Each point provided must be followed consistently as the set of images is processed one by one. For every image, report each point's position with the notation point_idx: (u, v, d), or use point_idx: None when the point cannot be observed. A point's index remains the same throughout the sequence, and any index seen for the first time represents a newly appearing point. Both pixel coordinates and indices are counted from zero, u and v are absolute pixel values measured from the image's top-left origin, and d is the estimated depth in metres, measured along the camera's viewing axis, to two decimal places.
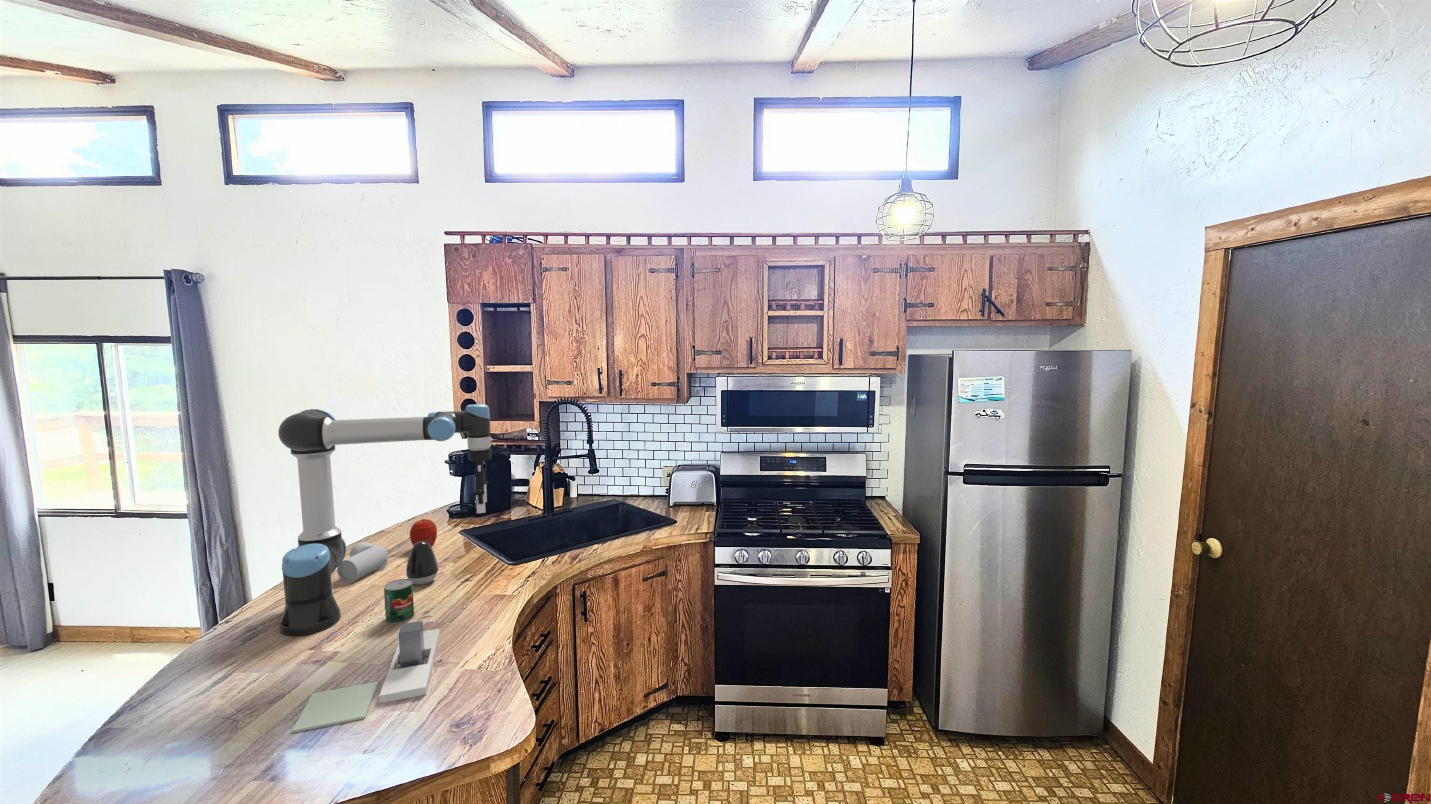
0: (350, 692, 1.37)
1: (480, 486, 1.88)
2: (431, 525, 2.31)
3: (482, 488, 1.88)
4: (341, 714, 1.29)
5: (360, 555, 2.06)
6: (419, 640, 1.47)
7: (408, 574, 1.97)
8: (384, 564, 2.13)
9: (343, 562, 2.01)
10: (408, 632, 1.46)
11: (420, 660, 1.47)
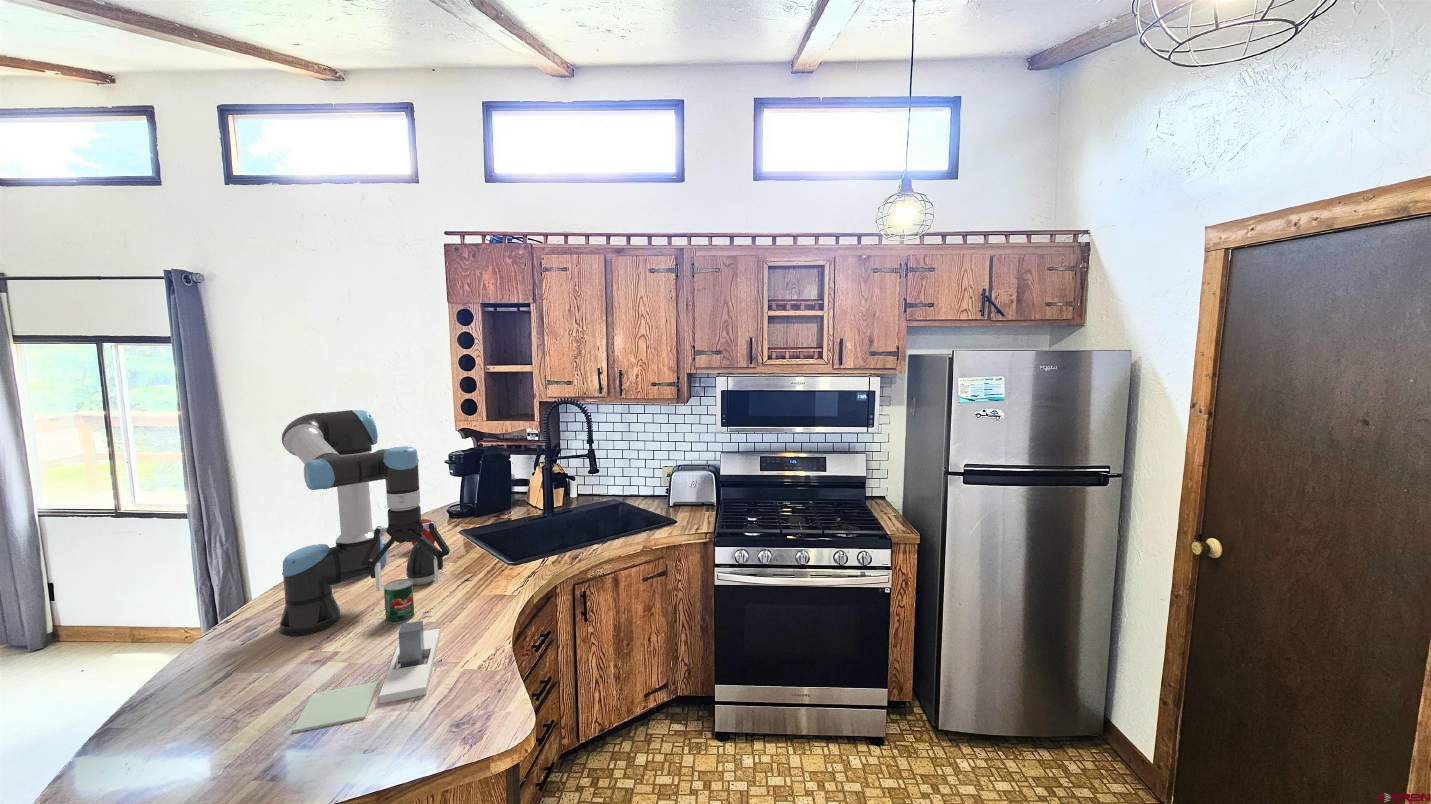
0: (350, 692, 1.37)
1: (365, 554, 1.43)
2: None
3: (363, 557, 1.42)
4: (341, 714, 1.29)
5: None
6: (419, 640, 1.47)
7: (408, 574, 1.97)
8: None
9: None
10: (408, 632, 1.46)
11: (420, 660, 1.47)
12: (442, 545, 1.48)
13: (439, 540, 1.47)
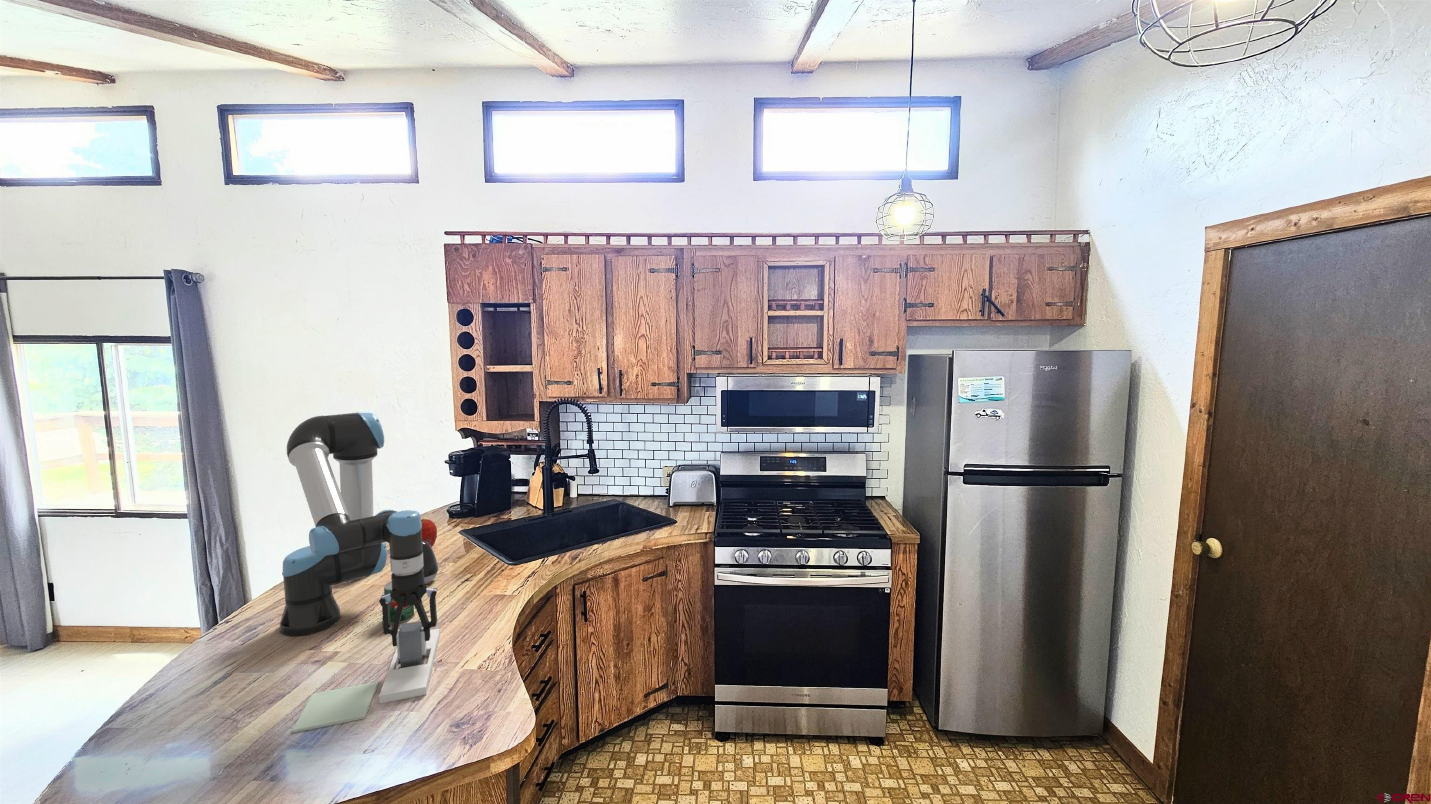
0: (350, 692, 1.37)
1: None
2: (431, 525, 2.31)
3: (383, 627, 1.45)
4: (341, 714, 1.29)
5: None
6: (419, 640, 1.47)
7: None
8: None
9: None
10: (408, 632, 1.46)
11: (420, 660, 1.47)
12: (434, 615, 1.49)
13: (433, 610, 1.49)
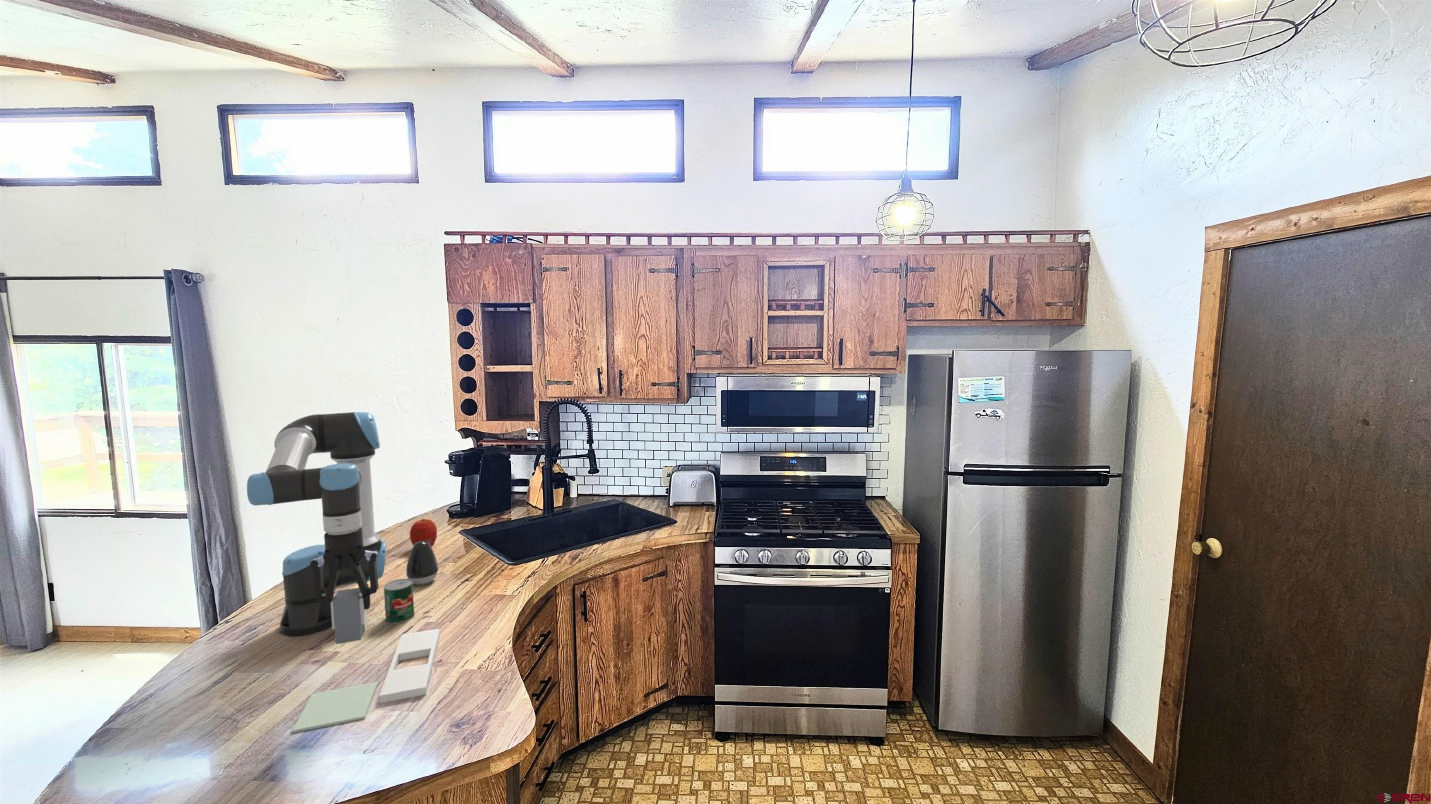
0: (350, 692, 1.37)
1: None
2: (431, 525, 2.31)
3: None
4: (341, 714, 1.29)
5: None
6: (357, 607, 1.32)
7: (408, 574, 1.97)
8: None
9: None
10: (344, 598, 1.31)
11: (358, 630, 1.32)
12: (374, 580, 1.34)
13: (373, 574, 1.34)
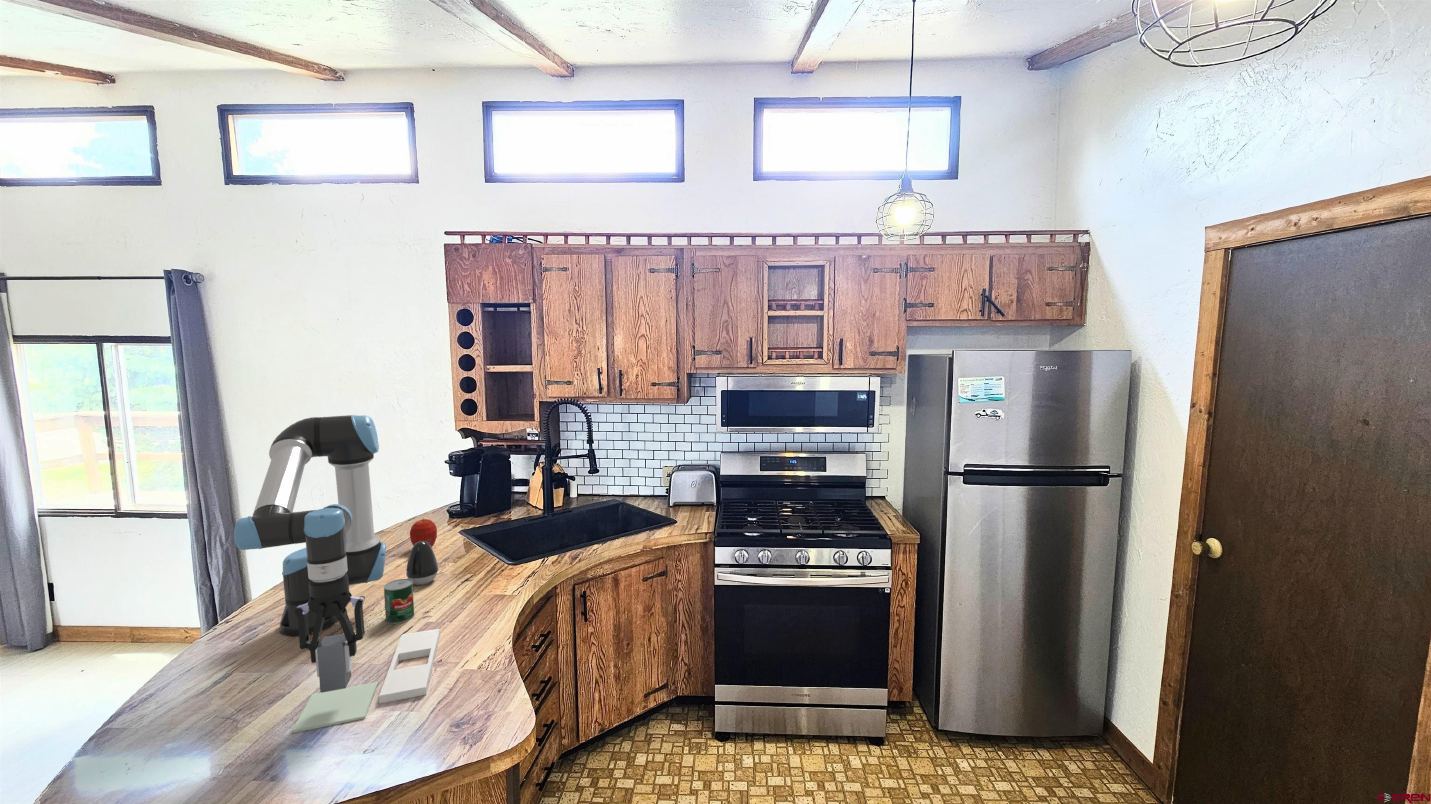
0: (350, 692, 1.37)
1: None
2: (431, 525, 2.31)
3: None
4: (341, 714, 1.29)
5: None
6: (342, 655, 1.29)
7: (408, 574, 1.97)
8: None
9: None
10: (329, 646, 1.28)
11: (343, 678, 1.30)
12: (360, 627, 1.31)
13: (359, 621, 1.31)
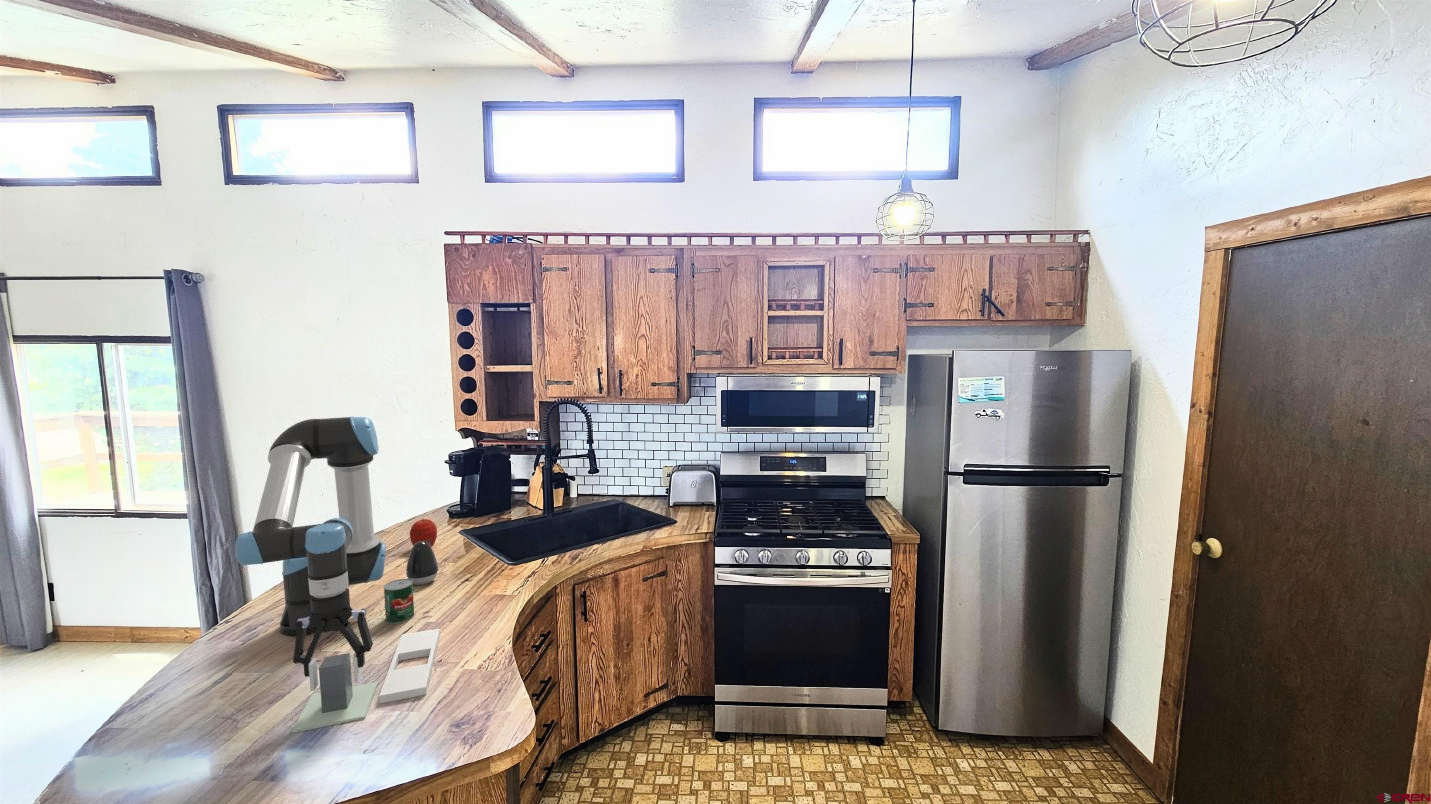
0: None
1: None
2: (431, 525, 2.31)
3: (294, 655, 1.27)
4: (341, 714, 1.29)
5: None
6: (344, 676, 1.30)
7: (408, 574, 1.97)
8: None
9: None
10: (330, 667, 1.29)
11: (345, 699, 1.30)
12: (366, 639, 1.32)
13: (364, 633, 1.32)
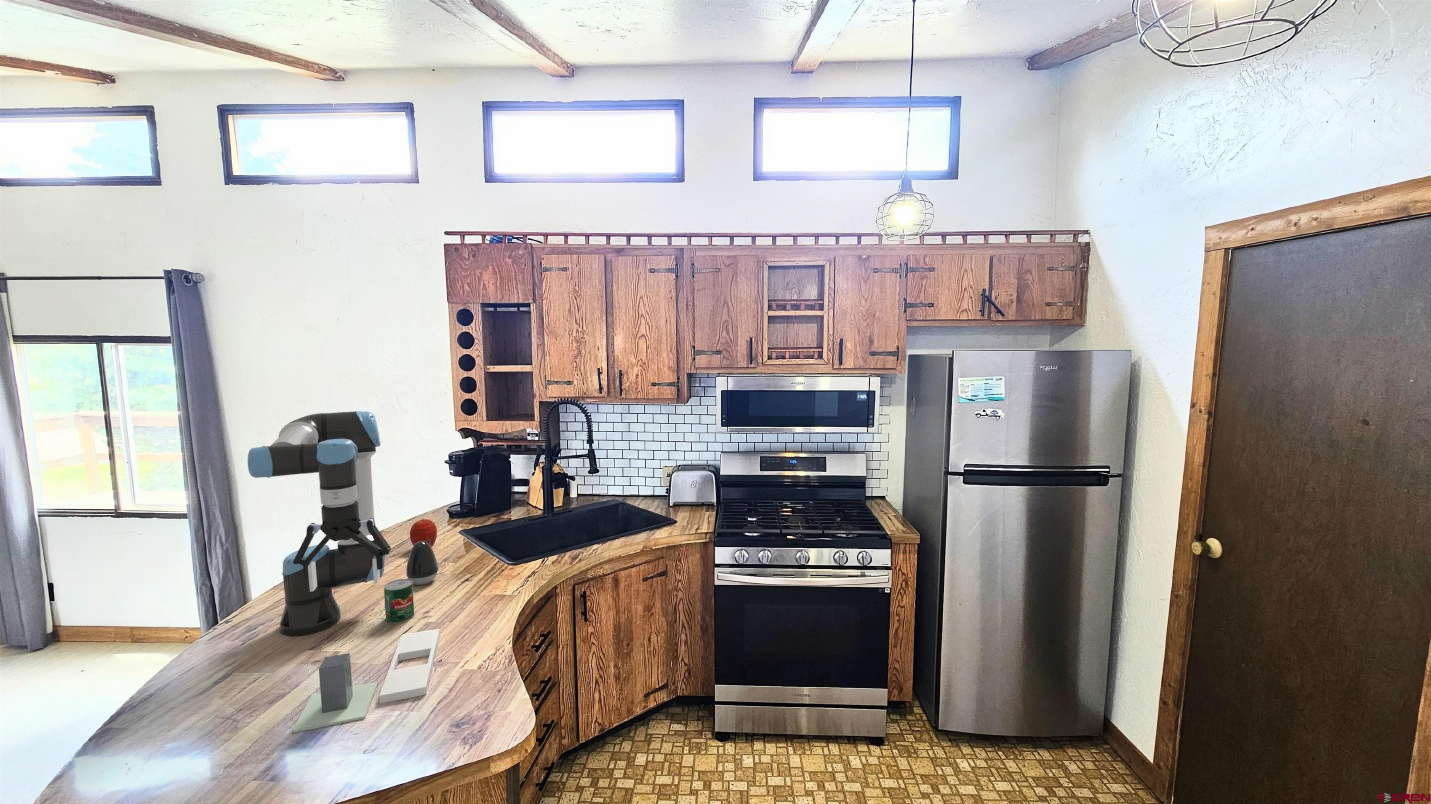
0: None
1: (298, 552, 1.34)
2: (431, 525, 2.31)
3: (296, 556, 1.34)
4: (341, 714, 1.29)
5: None
6: (344, 676, 1.30)
7: (408, 574, 1.97)
8: None
9: None
10: (330, 667, 1.29)
11: (345, 699, 1.30)
12: (382, 543, 1.40)
13: (378, 538, 1.39)
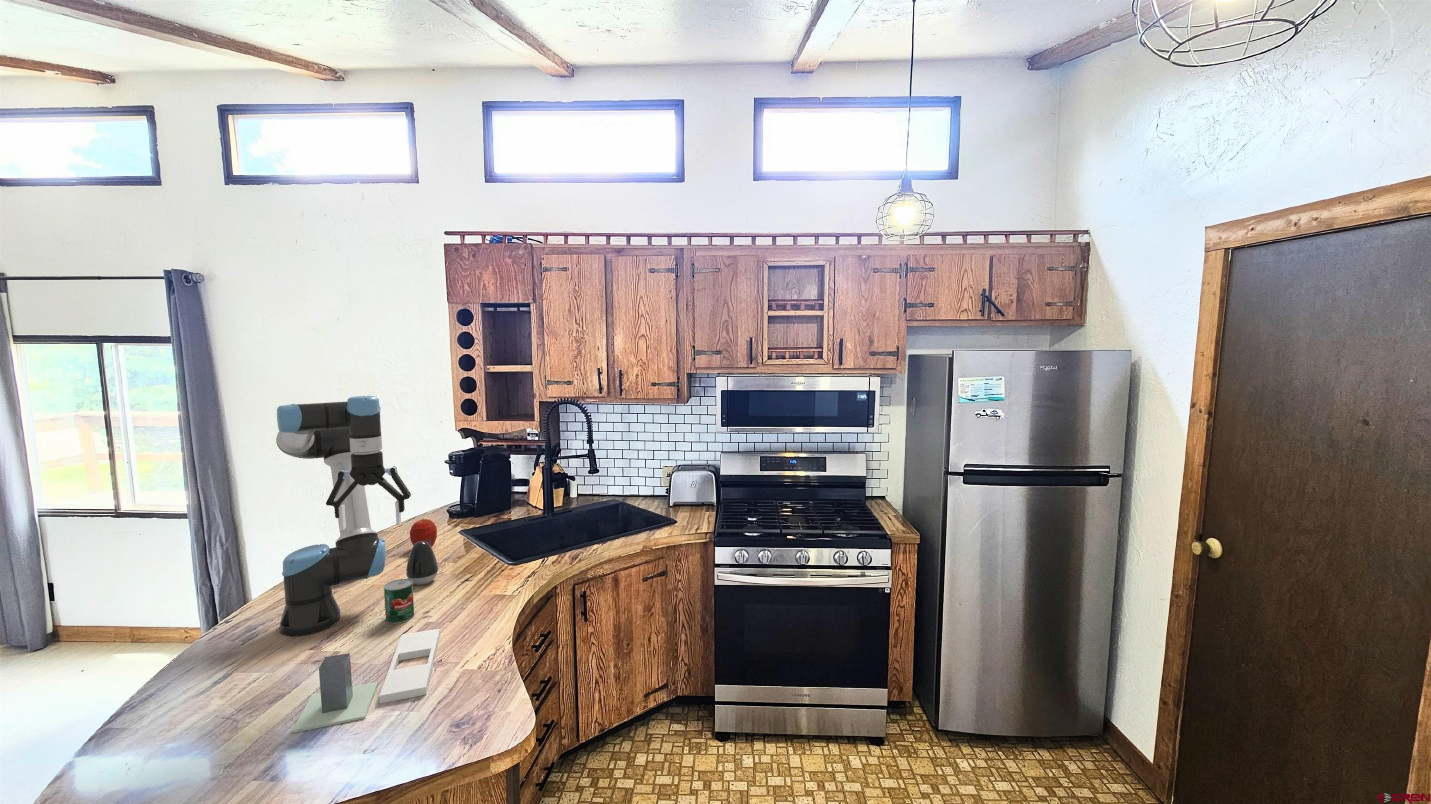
0: None
1: (330, 495, 1.52)
2: (431, 525, 2.31)
3: (328, 498, 1.52)
4: (341, 714, 1.29)
5: None
6: (344, 676, 1.30)
7: (408, 574, 1.97)
8: None
9: None
10: (330, 667, 1.29)
11: (345, 699, 1.30)
12: (403, 488, 1.58)
13: (400, 484, 1.57)
